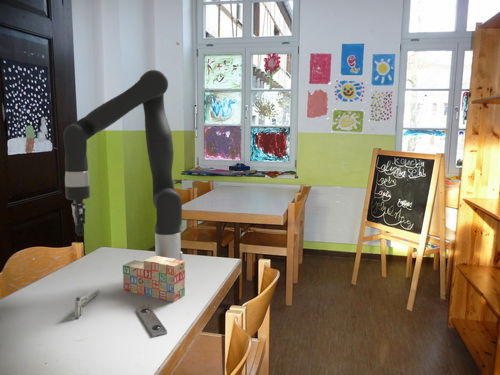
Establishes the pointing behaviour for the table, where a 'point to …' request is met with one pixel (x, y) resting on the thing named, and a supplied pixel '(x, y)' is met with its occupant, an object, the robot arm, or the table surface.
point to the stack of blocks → (156, 278)
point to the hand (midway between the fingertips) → (79, 234)
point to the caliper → (83, 302)
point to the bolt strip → (151, 321)
